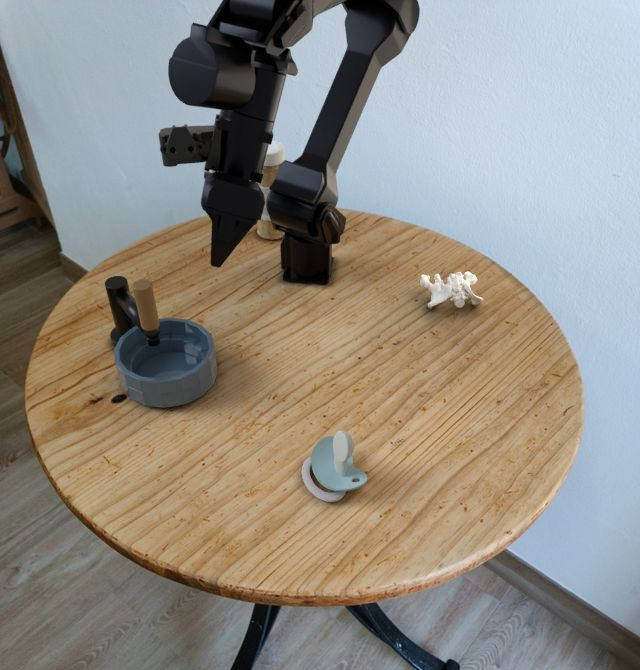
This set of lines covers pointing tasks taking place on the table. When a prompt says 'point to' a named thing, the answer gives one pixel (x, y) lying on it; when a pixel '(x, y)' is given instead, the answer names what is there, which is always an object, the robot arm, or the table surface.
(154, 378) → the basin
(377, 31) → the robot arm
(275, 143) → the sprinkles bottle
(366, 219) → the table surface
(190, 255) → the table surface
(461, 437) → the table surface
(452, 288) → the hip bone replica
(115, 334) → the base
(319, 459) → the pacifier
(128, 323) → the black crank handle
